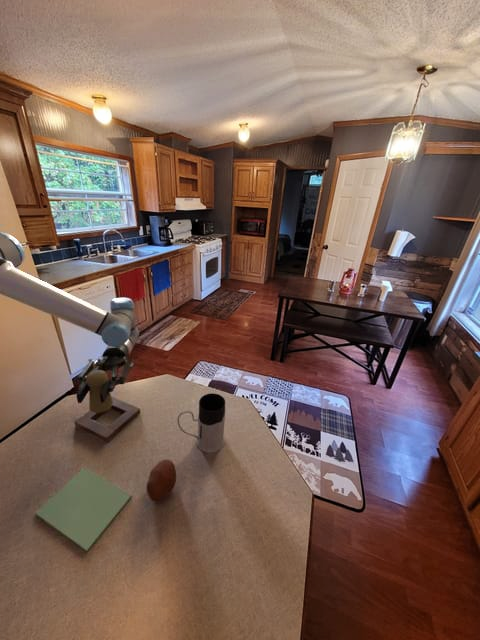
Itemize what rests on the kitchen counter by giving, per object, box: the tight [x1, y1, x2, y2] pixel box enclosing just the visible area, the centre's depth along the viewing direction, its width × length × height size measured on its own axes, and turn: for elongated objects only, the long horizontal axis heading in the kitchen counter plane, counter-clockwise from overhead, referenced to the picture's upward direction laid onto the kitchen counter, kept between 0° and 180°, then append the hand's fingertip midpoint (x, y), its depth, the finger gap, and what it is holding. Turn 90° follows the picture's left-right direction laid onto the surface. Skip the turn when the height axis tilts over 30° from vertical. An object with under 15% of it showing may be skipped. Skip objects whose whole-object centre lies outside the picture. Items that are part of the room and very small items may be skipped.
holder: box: [73, 395, 141, 444], centre depth 81 cm, size 13×13×2 cm
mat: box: [34, 467, 133, 553], centre depth 59 cm, size 16×12×1 cm
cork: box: [86, 370, 113, 413], centre depth 71 cm, size 6×6×11 cm
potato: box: [146, 458, 177, 503], centre depth 63 cm, size 7×9×6 cm
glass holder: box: [176, 392, 226, 454], centre depth 74 cm, size 9×14×15 cm, turn 112°
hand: (90, 398), depth 65 cm, fingers closed on cork, 5 cm apart
